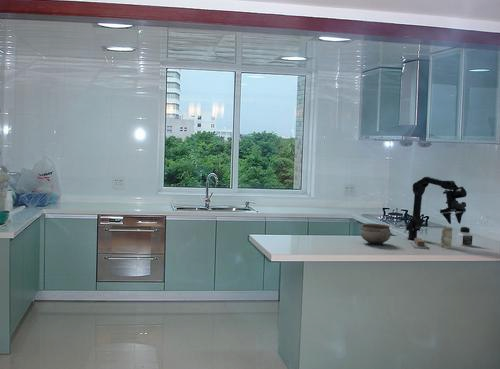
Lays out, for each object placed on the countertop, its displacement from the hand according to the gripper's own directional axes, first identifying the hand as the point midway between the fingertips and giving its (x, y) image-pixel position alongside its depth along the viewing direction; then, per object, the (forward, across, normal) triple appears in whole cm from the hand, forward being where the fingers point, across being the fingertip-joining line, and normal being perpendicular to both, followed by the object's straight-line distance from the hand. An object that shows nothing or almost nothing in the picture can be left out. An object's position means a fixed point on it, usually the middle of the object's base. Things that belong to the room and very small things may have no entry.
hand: (454, 223), depth 385 cm
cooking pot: (+8, -43, +30) cm, 53 cm away
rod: (+15, -6, +5) cm, 16 cm away
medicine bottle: (+14, +17, +8) cm, 23 cm away
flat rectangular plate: (+12, -19, +15) cm, 27 cm away
